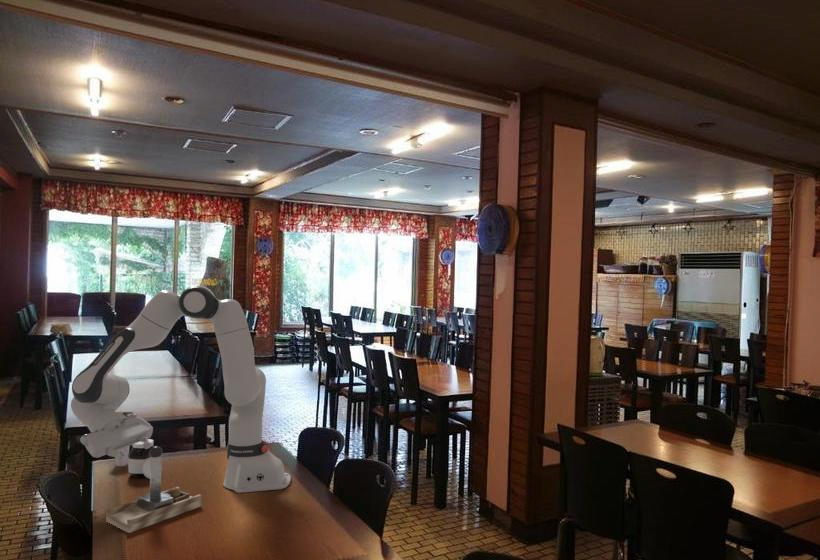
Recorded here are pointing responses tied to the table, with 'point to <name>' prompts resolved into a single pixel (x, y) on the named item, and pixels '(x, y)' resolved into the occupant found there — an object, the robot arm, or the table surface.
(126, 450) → the smoothie
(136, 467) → the spread jar
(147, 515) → the press base
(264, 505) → the table surface
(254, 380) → the robot arm
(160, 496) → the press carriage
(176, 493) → the walnut
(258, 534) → the table surface
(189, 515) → the table surface
